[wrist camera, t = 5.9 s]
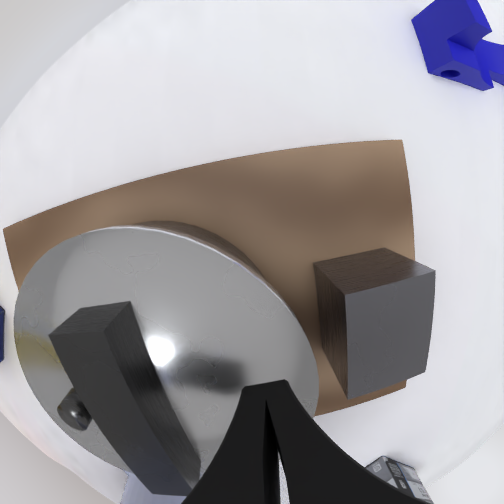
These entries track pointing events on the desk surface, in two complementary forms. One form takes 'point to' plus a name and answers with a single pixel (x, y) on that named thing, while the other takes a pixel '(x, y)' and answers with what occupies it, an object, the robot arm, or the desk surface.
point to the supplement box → (1, 334)
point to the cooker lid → (154, 347)
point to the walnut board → (260, 221)
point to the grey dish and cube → (362, 312)
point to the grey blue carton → (399, 477)
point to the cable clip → (459, 43)
